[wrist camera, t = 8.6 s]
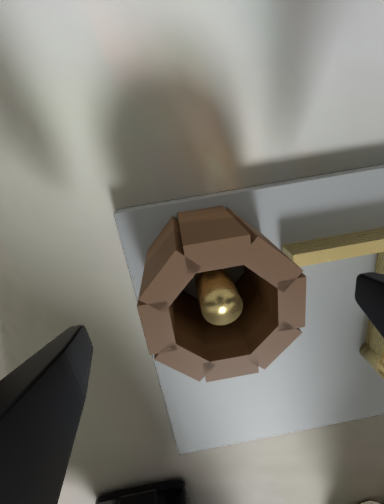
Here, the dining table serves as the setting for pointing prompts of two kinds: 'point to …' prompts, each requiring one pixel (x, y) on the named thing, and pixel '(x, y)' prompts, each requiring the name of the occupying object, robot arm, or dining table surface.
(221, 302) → the end peg
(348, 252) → the bent rail
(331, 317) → the slate board
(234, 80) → the dining table surface
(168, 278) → the walnut ring
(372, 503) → the water bottle
